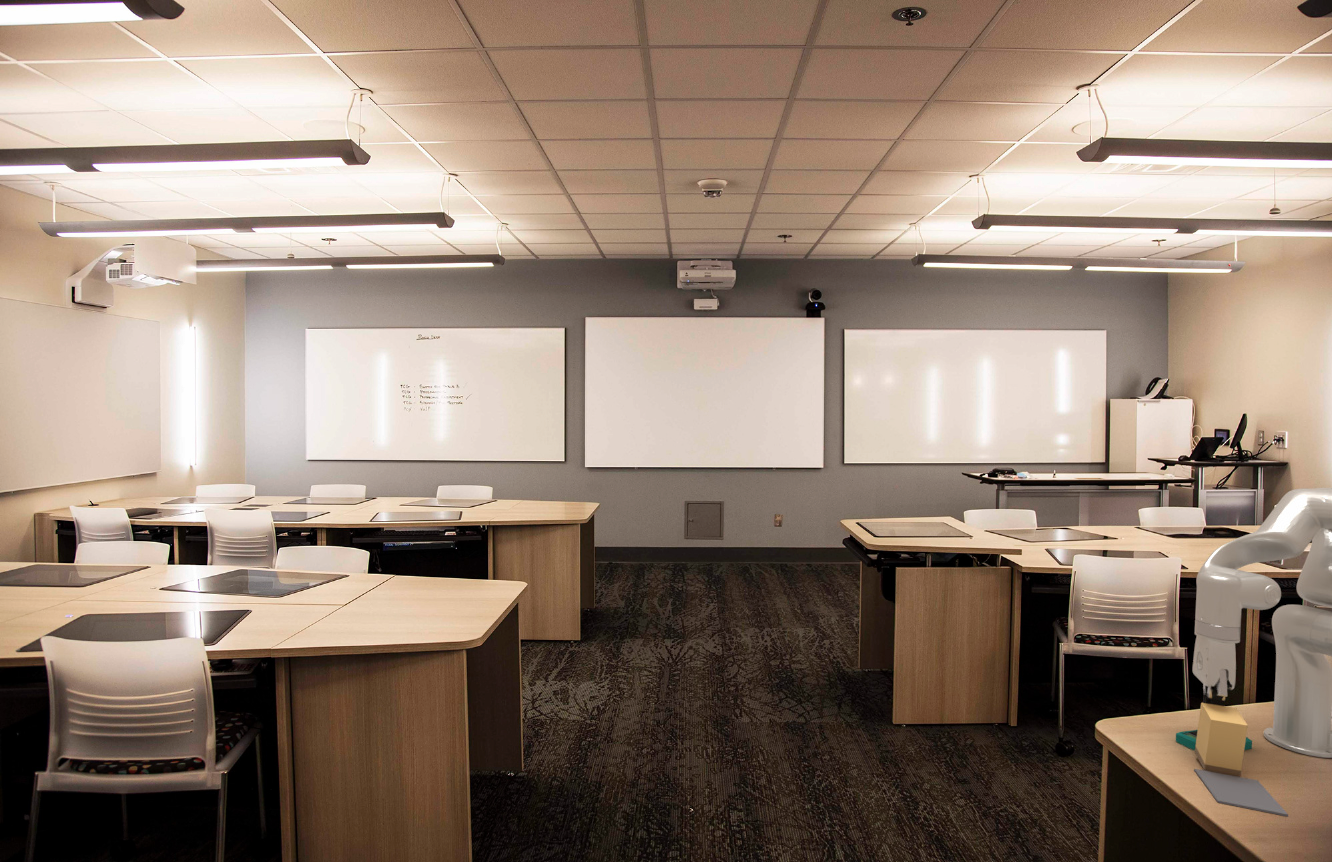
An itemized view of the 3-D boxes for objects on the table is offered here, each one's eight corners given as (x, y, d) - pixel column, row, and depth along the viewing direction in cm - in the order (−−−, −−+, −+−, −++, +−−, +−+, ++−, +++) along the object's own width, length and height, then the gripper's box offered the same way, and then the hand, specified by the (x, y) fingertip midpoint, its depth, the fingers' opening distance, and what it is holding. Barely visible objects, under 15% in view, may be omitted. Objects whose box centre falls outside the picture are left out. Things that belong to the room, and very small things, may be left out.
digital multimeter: (1254, 750, 150) (1254, 737, 150) (1208, 759, 146) (1209, 745, 146) (1218, 735, 157) (1219, 723, 157) (1173, 743, 153) (1174, 730, 153)
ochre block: (1229, 757, 143) (1236, 707, 140) (1240, 776, 138) (1247, 725, 135) (1194, 751, 145) (1201, 702, 143) (1204, 770, 140) (1211, 719, 137)
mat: (1257, 782, 136) (1257, 780, 136) (1288, 816, 124) (1288, 814, 124) (1194, 770, 140) (1194, 768, 140) (1217, 802, 128) (1217, 800, 128)
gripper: (1184, 619, 152) (1180, 699, 152) (1207, 637, 138) (1203, 726, 138) (1225, 624, 149) (1221, 706, 149) (1253, 643, 135) (1249, 734, 135)
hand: (1212, 715), depth 144 cm, fingers closed
